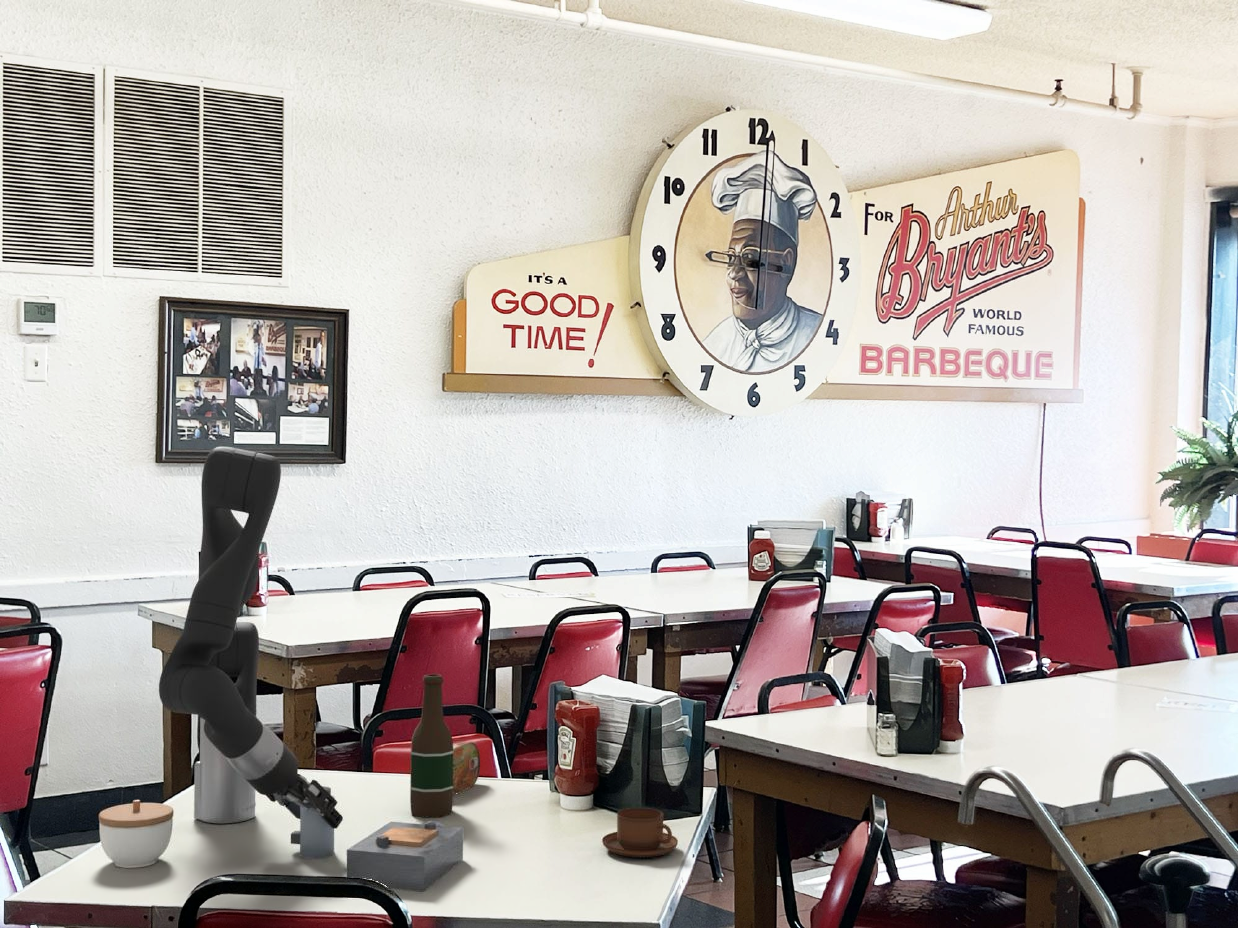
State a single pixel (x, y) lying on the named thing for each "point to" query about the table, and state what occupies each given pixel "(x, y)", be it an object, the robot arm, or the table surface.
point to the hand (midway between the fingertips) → (320, 818)
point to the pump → (314, 834)
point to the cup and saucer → (640, 834)
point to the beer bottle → (431, 756)
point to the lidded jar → (136, 833)
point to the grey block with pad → (407, 854)
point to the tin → (465, 766)
